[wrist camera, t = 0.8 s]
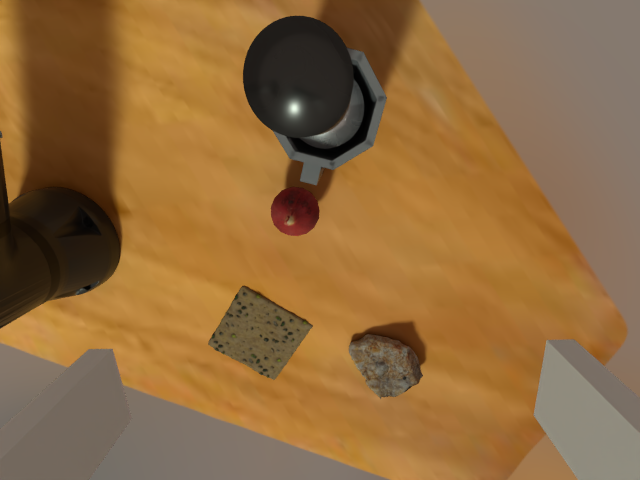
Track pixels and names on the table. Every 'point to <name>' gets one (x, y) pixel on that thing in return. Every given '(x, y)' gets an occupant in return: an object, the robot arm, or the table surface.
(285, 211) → the onion
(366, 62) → the press carafe
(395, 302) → the table surface
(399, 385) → the rock
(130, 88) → the table surface
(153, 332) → the table surface
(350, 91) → the plunger
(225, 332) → the grey porous flat square
